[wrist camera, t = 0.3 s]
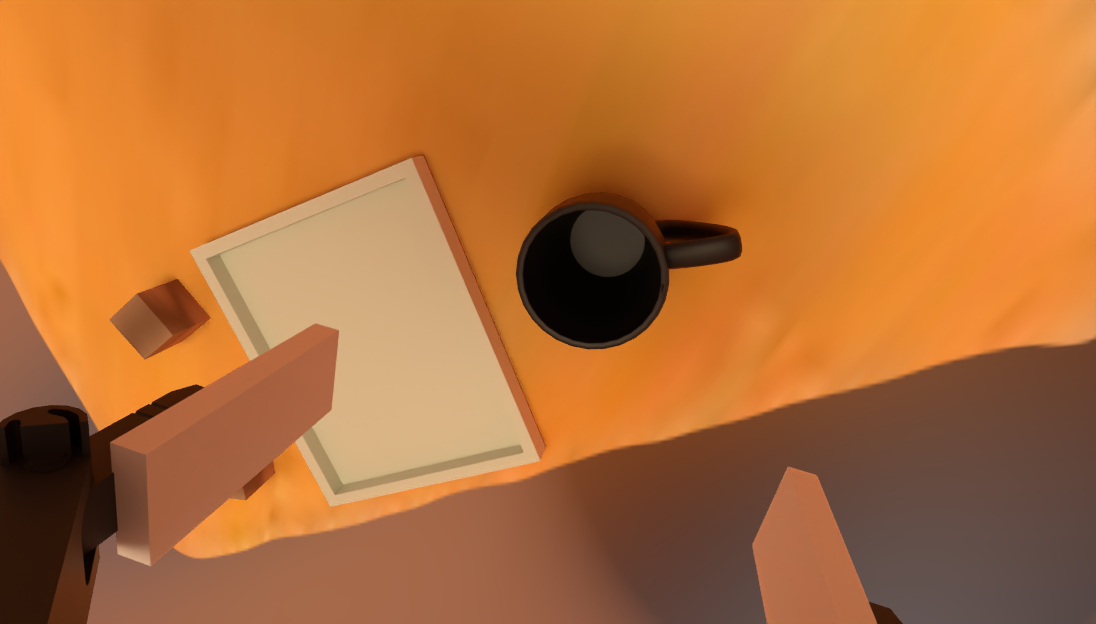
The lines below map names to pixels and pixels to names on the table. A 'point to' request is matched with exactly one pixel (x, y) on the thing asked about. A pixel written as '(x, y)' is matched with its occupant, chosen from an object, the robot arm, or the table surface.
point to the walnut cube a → (159, 318)
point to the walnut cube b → (254, 483)
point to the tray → (381, 334)
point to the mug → (609, 267)
